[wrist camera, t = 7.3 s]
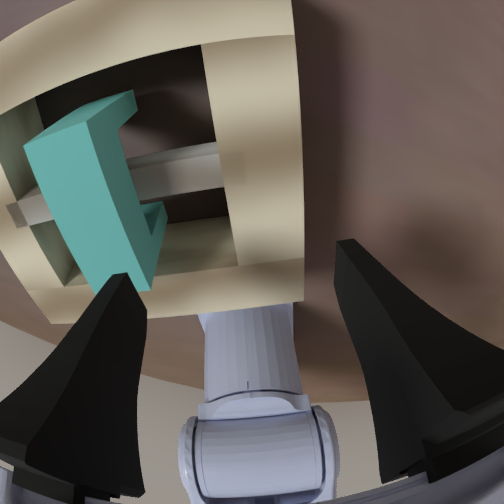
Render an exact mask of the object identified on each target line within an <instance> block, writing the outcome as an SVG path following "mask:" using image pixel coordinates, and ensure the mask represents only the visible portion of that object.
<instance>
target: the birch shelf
mask: <svg viewBox="0 0 504 504" xmlns="http://www.w3.org/2000/svg"><path fill="white" fill-rule="evenodd" d="M199 44H201V48H202V55H203V61H204V68H205V74H206V80H207V86H208V93H209V99H210V105H211V111H212V117H213V123H214V129H215V135H216V141H217V142H211V143H205V144H199V145H193V146H188V147H182V148H177V149H171V150H166V151H161V152H156V153H152V154H147V155H142V156H138V157H134V158H129V159H126V163H127V166H128V169H129V172H130V175H131V178H132V181H133V184H134V187H135V191H136V193H137V196H138V199H139V201H142V200H147V199H153V198H158V197H164V196H170V195H175V194H181V193H188V192H194V191H200V190H207V189H213V188H220V187H224V188H225V193H226V199H227V205H228V210H229V215H228V216H221V217H214V218H207V219H200V220H193V221H187V222H180V223H174V224H167V225H166V227H165V231H164V235H163V239H162V244H161V248H160V252H159V256H158V260H157V265H156V269H155V274H154V278H153V283H152V288H151V290H149V291H140V292H138V294H139V296H140V298H141V299H142V301H143V303H144V305H145V307H146V309H147V318H159V317H171V316H182V315H192V314H202V313H211V312H220V311H229V310H237V309H246V308H254V307H262V306H269V305H277V304H284V303H291V302H298V301H304V187H303V155H302V132H301V113H300V96H299V82H298V68H297V56H296V44H295V34H294V23H293V14H292V5H291V0H76V1H73V2H71V3H69V4H67V5H65V6H62V7H60V8H58V9H56V10H54V11H52V12H50V13H48V14H46V15H44V16H43V17H41V18H39V19H37V20H35V21H33V22H32V23H30V24H28V25H26V26H25V27H23V28H21V29H20V30H18V31H16V32H15V33H13V34H11V35H10V36H8V37H7V38H5V39H4V40H2V41H1V42H0V250H1V251H2V253H3V255H4V256H5V258H6V260H7V261H8V263H9V264H10V266H11V268H12V269H13V271H14V272H15V274H16V275H17V277H18V278H19V280H20V281H21V283H22V284H23V286H24V287H25V289H26V290H27V292H28V293H29V294H30V296H31V297H32V299H33V300H34V301H35V303H36V304H37V306H38V307H39V308H40V310H41V311H42V312H43V314H44V315H45V316H46V317H47V319H48V320H49V321H50V323H51V324H64V323H76V322H77V320H78V319H79V318H80V316H81V315H82V314H83V312H84V311H85V309H86V308H87V307H88V305H89V304H90V303H91V301H92V300H93V299H94V297H95V296H96V295H95V293H94V292H93V290H92V288H91V287H90V285H89V283H88V282H87V280H86V278H85V276H84V275H83V273H82V271H81V270H80V268H79V266H78V264H77V262H76V261H75V259H74V257H73V255H72V253H71V252H70V250H69V248H68V246H67V244H66V242H65V240H64V238H63V236H62V234H61V232H60V230H59V228H58V226H57V224H56V222H55V220H54V218H53V216H52V214H51V212H50V210H49V208H48V205H47V203H46V201H45V199H44V197H43V194H42V192H41V190H40V187H39V185H38V183H37V180H36V178H35V175H34V173H33V171H32V168H31V166H30V163H29V160H28V158H27V155H26V152H25V150H24V147H23V146H24V145H25V144H26V143H28V142H29V141H30V140H32V139H33V138H34V137H36V136H37V135H38V134H40V133H41V132H43V131H44V127H43V124H42V121H41V117H40V114H39V111H38V107H37V104H36V100H35V96H37V95H40V94H42V93H44V92H46V91H48V90H51V89H53V88H55V87H57V86H60V85H62V84H65V83H67V82H69V81H72V80H74V79H77V78H80V77H82V76H85V75H88V74H90V73H93V72H96V71H99V70H102V69H105V68H108V67H111V66H114V65H117V64H120V63H124V62H127V61H130V60H134V59H137V58H141V57H145V56H149V55H152V54H156V53H161V52H165V51H169V50H174V49H179V48H183V47H188V46H194V45H199Z"/></svg>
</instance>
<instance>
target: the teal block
mask: <svg viewBox="0 0 504 504" xmlns="http://www.w3.org/2000/svg"><path fill="white" fill-rule="evenodd" d="M137 111H138V108H137V104H136V100H135V96H134V92H133V89H132V90H129V91H125V92H122V93H118V94H115V95H112V96H109V97H106V98H102V99H99V100H96V101H94V102H91V103H88V104H85V105H82V106H81V107H79V108H77V109H76V110H74V111H73V112H71V113H69V114H68V115H66V116H65V117H63V118H62V119H60V120H59V121H57V122H56V123H54V124H53V125H51V126H50V127H48V128H47V129H45V130H44V131H43V132H41V133H40V134H38V135H37V136H36V137H34V138H33V139H32V140H30V141H29V142H28V143H26V144H25V145H24V146H23V147H24V150H25V152H26V155H27V158H28V160H29V163H30V166H31V168H32V171H33V173H34V175H35V178H36V180H37V183H38V185H39V187H40V190H41V192H42V194H43V197H44V199H45V201H46V203H47V205H48V208H49V210H50V212H51V214H52V216H53V218H54V220H55V222H56V224H57V226H58V228H59V230H60V232H61V234H62V236H63V238H64V240H65V242H66V244H67V246H68V248H69V250H70V252H71V253H72V255H73V257H74V259H75V261H76V262H77V264H78V266H79V268H80V270H81V271H82V273H83V275H84V276H85V278H86V280H87V282H88V283H89V285H90V287H91V288H92V290H93V292H94V293H95V295H97V293H98V292H99V291H100V289H101V288H102V287H103V285H104V284H105V283H106V282H107V280H108V279H109V278H110V277H111V276H112V274H118V273H125V272H127V273H128V275H129V277H130V279H131V281H132V282H133V284H134V286H135V288H136V290H137V292H140V291H149V290H151V288H152V283H153V278H154V274H155V269H156V265H157V260H158V256H159V252H160V248H161V244H162V239H163V235H164V231H165V227H166V224H167V220H168V216H167V213H166V210H165V206H164V203H163V201H159V202H154V203H149V204H143V205H140V202H139V199H138V196H137V193H136V191H135V187H134V184H133V181H132V178H131V175H130V172H129V169H128V166H127V163H126V159H125V156H124V153H123V149H122V146H121V143H120V139H119V136H118V132H117V130H118V129H119V128H120V127H121V126H122V125H123V124H124V123H125V122H126V121H127V120H128V119H129V118H130V117H131V116H132V115H133V114H135V113H136V112H137Z"/></svg>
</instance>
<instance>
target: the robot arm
mask: <svg viewBox="0 0 504 504" xmlns="http://www.w3.org/2000/svg"><path fill="white" fill-rule="evenodd" d="M334 287H335V291H336V295H337V299H338V303H339V306H340V310H341V313H342V315H343V318H344V321H345V323H346V326H347V328H348V331H349V334H350V336H351V339H352V342H353V344H354V347H355V350H356V352H357V355H358V358H359V360H360V363H361V367H362V370H363V373H364V377H365V382H366V386H367V390H368V395H369V400H370V405H371V410H372V415H373V421H374V427H375V434H376V440H377V450H378V459H379V471H380V477H381V482H382V484H384V483H387V482H390V481H393V480H396V479H399V478H402V477H405V476H408V477H409V478H406V479H404V480H401V481H398V482H395V483H392V484H389V485H385V486H382V487H379V488H376V489H372V490H369V491H365V492H361V493H357V494H353V495H349V496H345V497H341V498H337V499H336V484H337V477H338V475H339V469H340V454H339V445H338V439H337V434H336V430H335V426H334V423H333V421H332V418H331V416H330V415H329V413H328V412H326V411H325V410H324V409H323V408H322V407H321V406H318V405H317V406H311V404H310V399H309V394H303V389H302V384H301V378H300V373H299V367H298V362H297V357H296V351H295V346H294V341H293V302H291V303H284V304H277V305H269V306H262V307H254V308H246V309H237V310H229V311H220V312H211V313H202V314H198V317H199V320H200V322H201V325H202V327H203V330H204V333H205V364H204V403H201V404H199V405H198V416H197V417H196V416H193V417H190V418H189V419H188V420H187V422H186V423H185V424H184V425H183V427H182V429H181V431H180V435H179V441H178V464H179V471H180V476H181V480H182V483H183V485H184V487H185V489H186V490H187V492H188V495H189V498H190V501H191V504H504V350H503V349H501V348H498V347H496V346H494V345H492V344H490V343H488V342H487V341H485V340H483V339H481V338H479V337H477V336H475V335H474V334H472V333H470V332H468V331H467V330H465V329H464V328H462V327H460V326H459V325H457V324H456V323H454V322H452V321H451V320H449V319H448V318H446V317H445V316H443V315H442V314H441V313H439V312H438V311H436V310H435V309H434V308H432V307H431V306H430V305H428V304H427V303H426V302H424V301H423V300H422V299H420V298H419V297H418V296H417V295H415V294H414V293H413V292H412V291H411V290H409V289H408V288H407V287H406V286H405V285H404V284H402V283H401V282H400V281H399V280H398V279H397V278H396V277H395V276H393V275H392V274H391V273H390V272H389V271H388V270H387V269H386V268H385V267H384V266H382V265H381V264H380V263H379V262H378V261H377V260H376V259H375V258H374V257H373V256H372V255H371V254H370V253H369V252H368V251H367V250H366V249H365V248H363V247H362V246H361V245H360V244H359V243H358V242H357V241H356V240H355V239H348V240H341V241H337V242H336V260H335V275H334ZM146 332H147V309H146V307H145V305H144V303H143V301H142V299H141V298H140V296H139V294H138V292H137V290H136V288H135V286H134V284H133V282H132V281H131V279H130V277H129V275H128V273H127V272H125V273H118V274H112V276H111V277H110V278H109V279H108V280H107V282H106V283H105V284H104V285H103V287H102V288H101V289H100V291H99V292H98V293H97V295H96V296H95V297H94V299H93V300H92V301H91V303H90V304H89V305H88V307H87V308H86V309H85V311H84V312H83V314H82V315H81V316H80V318H79V319H78V320H77V322H76V323H75V324H74V325H73V327H72V328H71V329H70V331H69V332H68V333H67V334H66V336H65V337H64V338H63V340H62V341H61V342H60V343H59V345H58V346H57V347H56V348H55V349H54V351H53V352H52V353H51V354H50V355H49V356H48V358H47V359H46V360H45V361H44V362H43V363H42V364H41V365H40V366H39V367H38V368H37V369H36V370H35V371H34V372H33V373H32V374H31V375H30V376H29V377H28V378H27V379H26V380H25V381H24V382H23V383H22V384H21V385H20V386H19V387H18V388H17V389H16V390H14V391H13V392H12V393H11V394H10V395H9V396H7V397H6V398H5V399H4V400H2V401H1V402H0V459H1V460H3V461H5V462H6V463H8V464H11V465H13V466H14V471H13V472H12V471H10V470H8V469H5V468H3V467H1V466H0V504H120V503H114V502H110V497H112V498H118V499H119V498H120V495H123V496H130V497H137V498H139V497H141V496H142V495H143V494H144V493H145V489H144V484H143V479H142V472H141V466H140V458H139V450H138V449H139V448H138V434H137V395H138V385H139V379H140V372H141V366H142V360H143V353H144V347H145V341H146Z"/></svg>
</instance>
